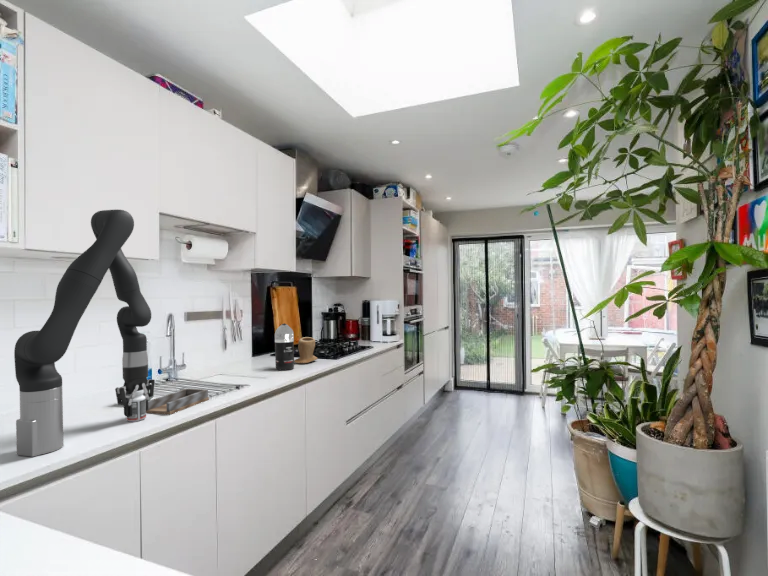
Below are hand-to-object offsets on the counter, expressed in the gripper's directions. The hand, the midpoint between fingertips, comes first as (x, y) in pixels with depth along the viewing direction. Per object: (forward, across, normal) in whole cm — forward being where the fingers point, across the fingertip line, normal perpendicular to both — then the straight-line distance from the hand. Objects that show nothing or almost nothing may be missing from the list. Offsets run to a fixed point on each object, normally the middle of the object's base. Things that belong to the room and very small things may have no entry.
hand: (136, 413), depth 142 cm
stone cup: (+3, +111, -9) cm, 111 cm away
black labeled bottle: (+2, +90, -6) cm, 90 cm away
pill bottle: (+2, 0, 0) cm, 2 cm away
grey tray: (+2, +17, -2) cm, 17 cm away
